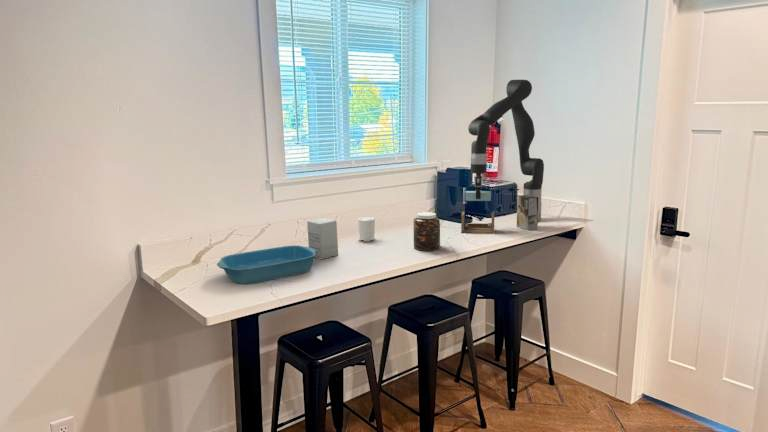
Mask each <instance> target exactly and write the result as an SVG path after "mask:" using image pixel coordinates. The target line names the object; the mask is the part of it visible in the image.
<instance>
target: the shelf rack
mask: <svg viewBox="0 0 768 432" xmlns="http://www.w3.org/2000/svg"><path fill="white" fill-rule="evenodd" d="M465 213H466V212H465V211H462V212H461V221H460V222H461V223H460V224H461V225H460V227H461V228H460V230H461V231H460V233H461V234H493V235H494V234H495V212H493V211H492V212H491V222H487V223H480V222H479V223H478V222H477V223H474V222H473V223H472V222H471V223H469V222H465V217H466V216H465V215H466V214H465Z"/></svg>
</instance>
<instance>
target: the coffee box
mask: <svg viewBox="0 0 768 432" xmlns="http://www.w3.org/2000/svg"><path fill="white" fill-rule="evenodd" d="M516 203H517V204H516V228H519V229H522V230H525V231H526V230H527V231H533V230H538V227H539V226H538V224H539V223H538V222H539V221H538V197H534V196H529V195H517V197H516Z"/></svg>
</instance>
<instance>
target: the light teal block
mask: <svg viewBox="0 0 768 432" xmlns="http://www.w3.org/2000/svg"><path fill="white" fill-rule="evenodd" d="M465 201H466V202H475V201H476V202H491V201H492V191H491V190H481V198H480V199H476V191H475V190H465Z"/></svg>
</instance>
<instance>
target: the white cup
mask: <svg viewBox="0 0 768 432" xmlns="http://www.w3.org/2000/svg"><path fill="white" fill-rule="evenodd" d="M357 222H358V234H359V241H361V240H364V241H363V242H370V241H369V240H373V241H374V240H375V235H376V234H375V232H376V231H375V230H376V218H375V217H371V216H370V217H366V216H365V217H364V216H363V217H358V218H357Z"/></svg>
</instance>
